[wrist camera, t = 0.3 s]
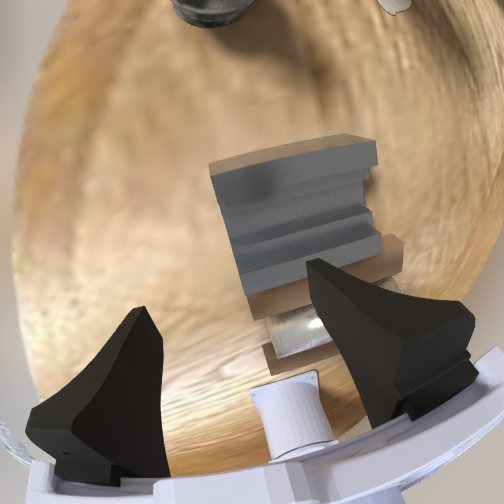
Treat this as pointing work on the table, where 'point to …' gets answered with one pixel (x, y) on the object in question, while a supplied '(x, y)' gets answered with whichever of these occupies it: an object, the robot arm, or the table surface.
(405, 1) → the white boot
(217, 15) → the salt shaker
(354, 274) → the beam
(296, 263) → the v block
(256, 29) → the table surface
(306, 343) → the axle
